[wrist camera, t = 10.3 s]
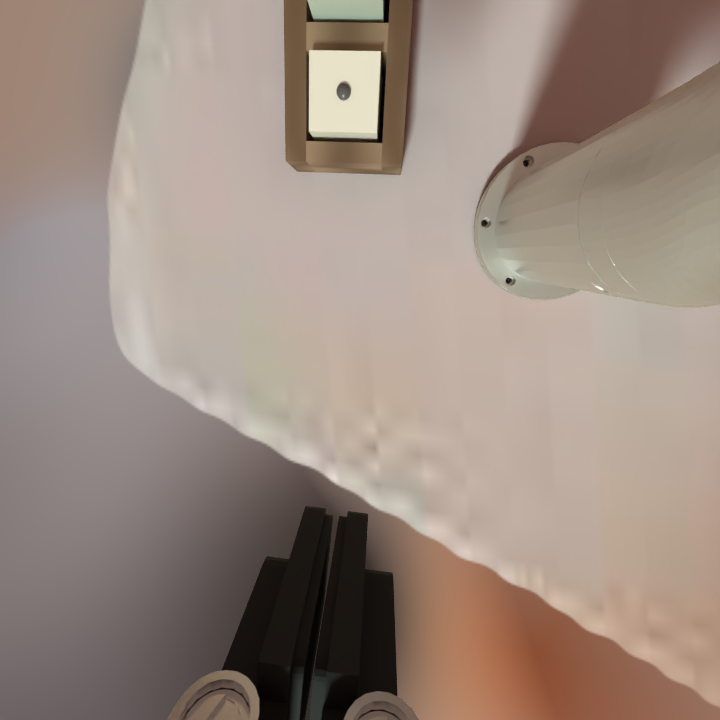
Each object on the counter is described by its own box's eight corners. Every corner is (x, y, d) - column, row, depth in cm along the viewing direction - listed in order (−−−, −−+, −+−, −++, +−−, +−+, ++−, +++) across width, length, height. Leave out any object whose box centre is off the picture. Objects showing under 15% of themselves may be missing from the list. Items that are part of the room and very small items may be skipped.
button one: (381, 82, 31) (380, 49, 26) (378, 150, 32) (376, 132, 27) (321, 81, 31) (308, 48, 26) (320, 149, 32) (308, 130, 27)
